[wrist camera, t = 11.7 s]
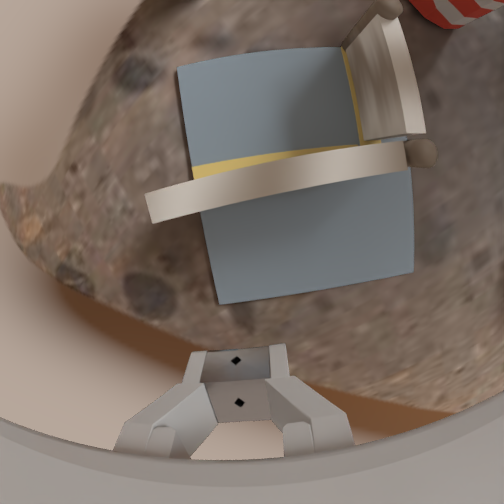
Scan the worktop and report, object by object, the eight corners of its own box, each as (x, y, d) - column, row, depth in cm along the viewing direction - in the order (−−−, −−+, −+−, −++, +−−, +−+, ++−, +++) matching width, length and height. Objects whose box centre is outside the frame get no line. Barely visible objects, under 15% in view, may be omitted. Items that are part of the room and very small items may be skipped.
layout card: (178, 68, 17) (176, 66, 16) (386, 51, 16) (388, 49, 16) (220, 302, 22) (219, 305, 21) (411, 270, 21) (414, 272, 20)
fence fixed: (339, 39, 16) (374, -8, 9) (357, 39, 16) (398, -4, 9) (364, 165, 18) (416, 168, 12) (382, 164, 18) (439, 167, 12)
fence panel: (358, 146, 18) (402, 140, 12) (362, 167, 18) (408, 170, 12) (178, 184, 18) (144, 193, 12) (183, 205, 19) (152, 223, 13)
